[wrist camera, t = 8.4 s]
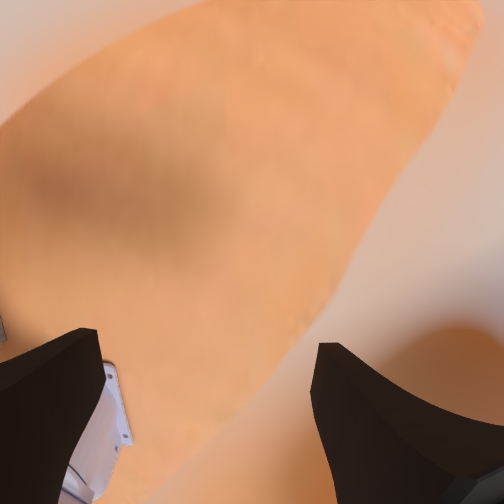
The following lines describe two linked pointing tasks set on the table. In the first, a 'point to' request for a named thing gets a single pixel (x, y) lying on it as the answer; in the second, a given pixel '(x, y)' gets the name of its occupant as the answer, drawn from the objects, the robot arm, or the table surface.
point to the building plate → (2, 333)
